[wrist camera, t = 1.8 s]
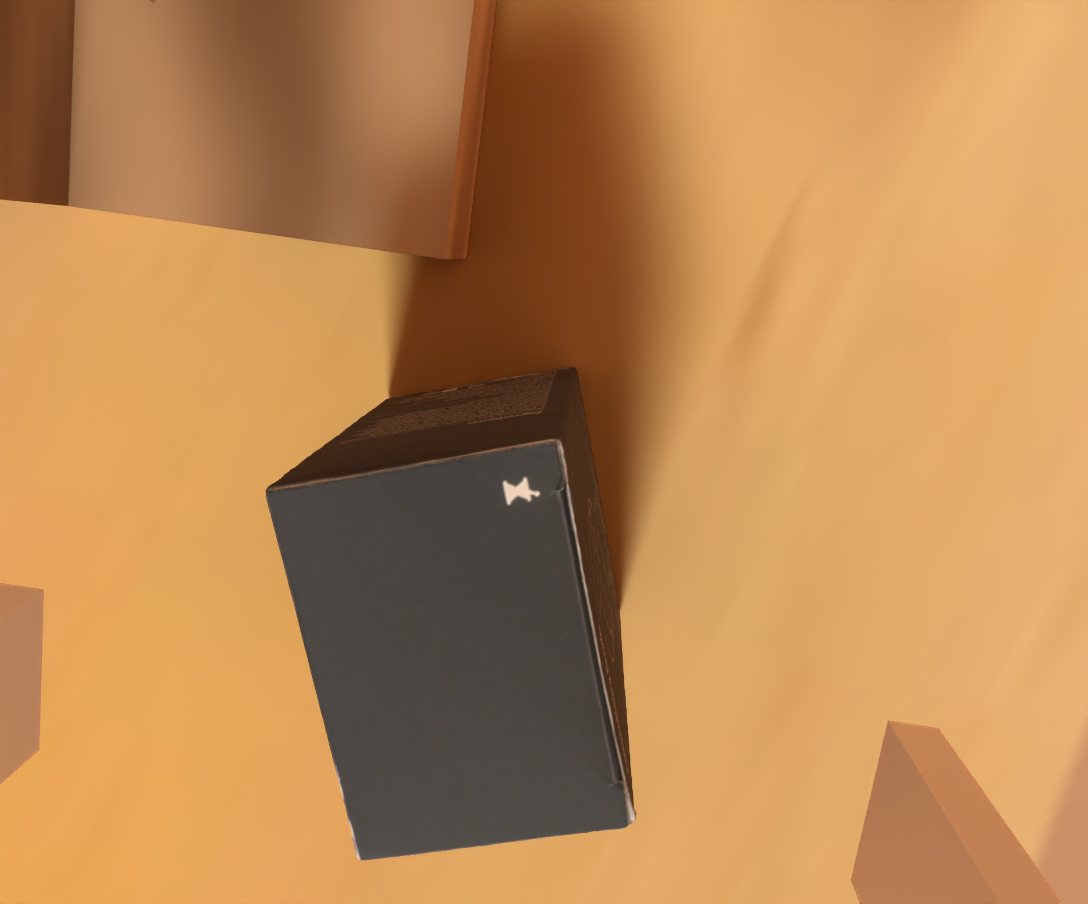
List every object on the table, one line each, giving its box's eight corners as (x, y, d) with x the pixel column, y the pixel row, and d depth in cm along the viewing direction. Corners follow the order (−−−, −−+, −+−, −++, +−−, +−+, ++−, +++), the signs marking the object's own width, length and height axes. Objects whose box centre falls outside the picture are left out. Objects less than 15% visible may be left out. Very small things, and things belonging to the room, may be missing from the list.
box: (382, 397, 27) (254, 483, 17) (577, 362, 27) (570, 429, 16) (437, 651, 29) (351, 874, 18) (623, 623, 28) (642, 835, 18)
